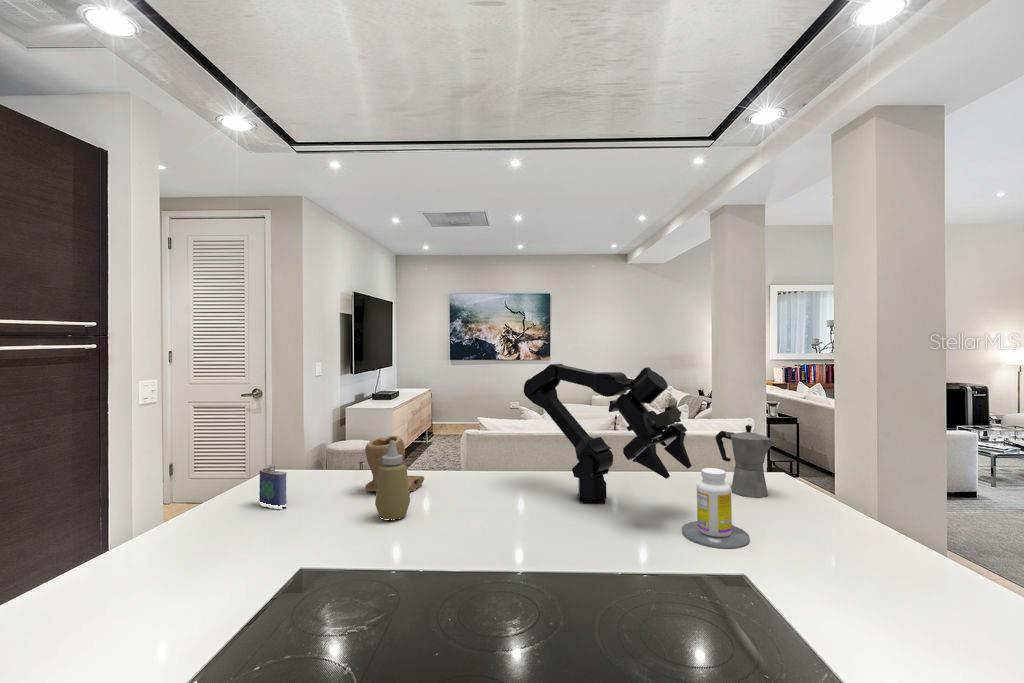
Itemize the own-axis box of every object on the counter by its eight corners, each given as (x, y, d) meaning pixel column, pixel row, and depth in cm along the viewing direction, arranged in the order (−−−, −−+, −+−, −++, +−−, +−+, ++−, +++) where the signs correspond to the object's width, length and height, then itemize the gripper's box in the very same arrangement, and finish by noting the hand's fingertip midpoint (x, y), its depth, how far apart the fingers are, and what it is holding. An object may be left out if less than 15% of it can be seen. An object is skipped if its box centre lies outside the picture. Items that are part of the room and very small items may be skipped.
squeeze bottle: (367, 520, 110) (367, 442, 111) (389, 509, 118) (388, 436, 118) (397, 525, 107) (396, 445, 107) (417, 513, 115) (416, 438, 115)
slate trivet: (693, 548, 94) (693, 545, 94) (674, 523, 107) (674, 520, 107) (761, 548, 93) (761, 545, 93) (733, 523, 106) (733, 520, 106)
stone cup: (357, 497, 128) (356, 441, 128) (374, 484, 140) (373, 432, 140) (412, 498, 126) (412, 441, 126) (425, 485, 138) (424, 433, 138)
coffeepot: (782, 493, 127) (781, 425, 127) (770, 502, 120) (769, 430, 120) (723, 482, 138) (722, 419, 138) (709, 489, 131) (708, 423, 131)
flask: (289, 507, 120) (288, 465, 120) (278, 511, 118) (277, 467, 118) (266, 502, 125) (265, 461, 125) (255, 505, 122) (254, 463, 122)
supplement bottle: (733, 529, 102) (732, 468, 102) (730, 540, 96) (729, 476, 96) (699, 523, 105) (699, 465, 105) (695, 534, 99) (694, 472, 99)
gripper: (634, 401, 103) (681, 462, 96) (679, 389, 115) (724, 443, 108) (605, 430, 110) (647, 490, 102) (650, 416, 122) (691, 469, 114)
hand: (679, 472), depth 107 cm, fingers open, 9 cm apart
